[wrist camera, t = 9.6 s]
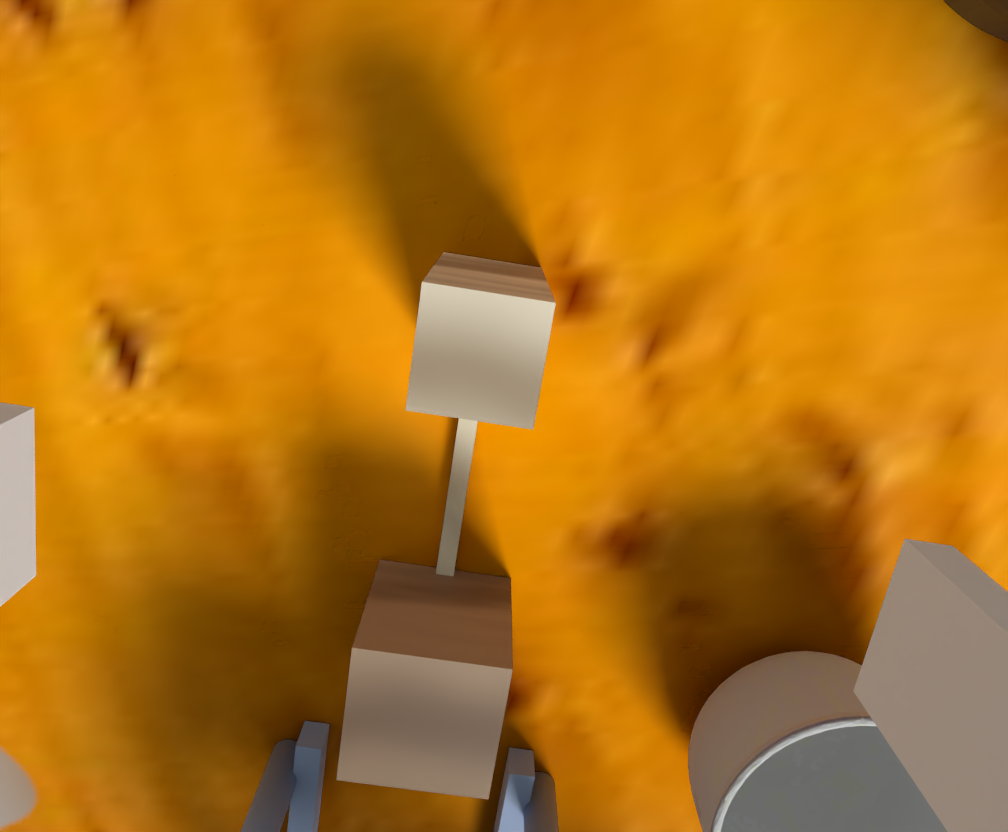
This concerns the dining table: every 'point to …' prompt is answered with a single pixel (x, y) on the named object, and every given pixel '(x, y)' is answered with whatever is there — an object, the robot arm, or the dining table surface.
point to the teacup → (798, 754)
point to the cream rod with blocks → (448, 549)
